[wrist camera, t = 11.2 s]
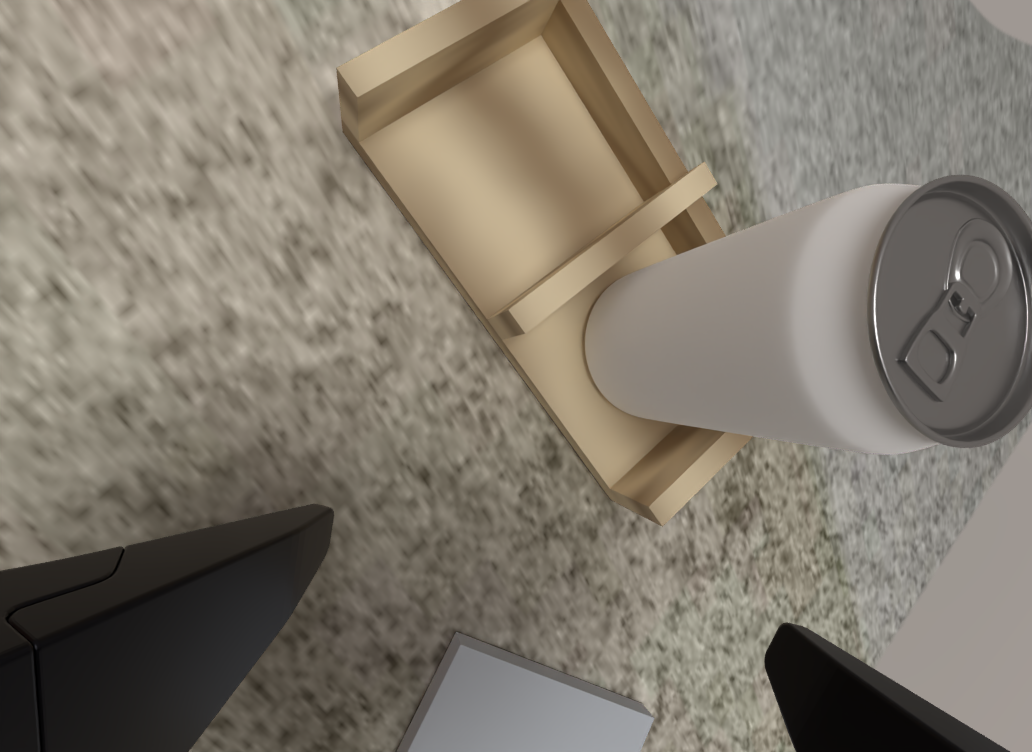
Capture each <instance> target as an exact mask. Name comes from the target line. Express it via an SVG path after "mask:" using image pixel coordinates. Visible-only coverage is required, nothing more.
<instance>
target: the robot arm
mask: <svg viewBox="0 0 1032 752" xmlns="http://www.w3.org/2000/svg"><path fill="white" fill-rule="evenodd" d="M333 519H334V511H333V509H332V508H330V507H326V506H322V505H318V504H310V505H306V506H301V507H297V508H292V509H288V510H284V511H279V512H275V513H270V514H266V515H261V516H257V517H253V518H248V519H244V520H239V521H235V522H230V523H226V524H222V525H217V526H213V527H208V528H204V529H199V530H195V531H190V532H186V533H182V534H177V535H173V536H168V537H164V538H159V539H155V540H151V541H146V542H142V543H137V544H133V545H128V546H126V547H125V549H124V548H123V547H116V548H111V549H107V550H102V551H98V552H93V553H89V554H84V555H79V556H74V557H70V558H65V559H60V560H55V561H51V562H45V563H40V564H35V565H29V566H24V567H18V568H13V569H8V570H2V571H0V752H188V751H189V750H190V749H191V748H192V746H193V745H194V744H195V742H196V741H197V740H198V738H199V737H200V736H201V734H202V733H203V732H204V730H205V729H206V728H207V726H208V725H209V724H210V722H211V721H212V720H213V719H214V717H215V716H216V715H217V713H218V712H219V711H220V709H221V708H222V707H223V705H224V704H225V703H226V701H227V700H228V699H229V697H230V696H231V695H232V693H233V692H234V691H235V689H236V688H237V687H238V686H239V684H240V683H241V682H242V680H243V679H244V678H245V676H246V675H247V674H248V672H249V671H250V670H251V668H252V667H253V666H254V664H255V663H256V662H257V660H258V659H259V658H260V657H261V655H262V654H263V653H264V651H265V650H266V649H267V647H268V646H269V645H270V643H271V642H272V641H273V639H274V638H275V637H276V635H277V634H278V633H279V631H280V630H281V629H282V627H283V626H284V625H285V623H286V622H287V620H288V619H289V617H290V616H291V614H292V613H293V611H294V609H295V608H296V606H297V604H298V603H299V601H300V599H301V597H302V596H303V594H304V592H305V591H306V589H307V587H308V585H309V584H310V582H311V580H312V579H313V577H314V575H315V574H316V572H317V570H318V568H319V567H320V565H321V563H322V562H323V560H324V558H325V556H326V554H327V551H328V548H329V544H330V538H331V532H332V525H333ZM765 669H766V672H767V675H768V678H769V680H770V683H771V686H772V689H773V692H774V694H775V697H776V700H777V703H778V705H779V708H780V711H781V714H782V716H783V719H784V722H785V725H786V728H787V730H788V733H789V736H790V738H791V741H792V743H793V746H794V748H795V750H796V752H1010V751H1008V750H1006V749H1005V748H1003V747H1002V746H1000V745H998V744H996V743H995V742H993V741H992V740H990V739H988V738H987V737H985V736H984V735H982V734H980V733H978V732H977V731H975V730H973V729H972V728H970V727H969V726H967V725H965V724H964V723H962V722H960V721H959V720H957V719H956V718H954V717H952V716H951V715H949V714H947V713H945V712H944V711H942V710H941V709H939V708H937V707H936V706H934V705H933V704H931V703H929V702H928V701H926V700H924V699H923V698H921V697H919V696H918V695H916V694H914V693H913V692H911V691H909V690H908V689H906V688H905V687H903V686H901V685H900V684H898V683H896V682H895V681H893V680H891V679H890V678H888V677H886V676H885V675H883V674H882V673H880V672H878V671H877V670H875V669H873V668H872V667H870V666H868V665H867V664H865V663H863V662H862V661H860V660H859V659H857V658H855V657H854V656H852V655H850V654H849V653H847V652H845V651H844V650H842V649H840V648H839V647H837V646H836V645H834V644H832V643H831V642H829V641H827V640H826V639H824V638H822V637H821V636H819V635H817V634H816V633H814V632H813V631H811V630H809V629H808V628H805V627H803V626H799V625H795V624H791V623H783V624H781V625H780V626H779V628H778V630H777V632H776V634H775V636H774V638H773V640H772V642H771V643H770V645H769V647H768V649H767V651H766V654H765Z"/></svg>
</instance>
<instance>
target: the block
mask: <svg viewBox="0 0 1032 752" xmlns="http://www.w3.org/2000/svg"><path fill="white" fill-rule="evenodd" d="M653 720H654V717H653V716H652V715H651V713H650V712H649V711H648V710H647V709H646V708H645V706H644V705H643V704H642V703H640V702H637V701H634V700H632V699H629V698H627V697H624V696H621V695H619V694H616V693H614V692H611V691H609V690H606V689H603V688H601V687H598V686H596V685H593V684H590V683H588V682H585V681H583V680H580V679H578V678H575V677H572V676H570V675H567V674H565V673H562V672H559V671H557V670H554V669H552V668H549V667H547V666H544V665H541V664H539V663H536V662H534V661H531V660H528V659H526V658H523V657H521V656H518V655H516V654H513V653H510V652H508V651H505V650H503V649H500V648H497V647H495V646H492V645H490V644H487V643H485V642H482V641H479V640H477V639H474V638H472V637H469V636H466V635H464V634H461V633H459V632H456V633H455V635H454V637H453V639H452V641H451V643H450V645H449V647H448V649H447V651H446V653H445V655H444V657H443V659H442V661H441V663H440V665H439V667H438V669H437V671H436V673H435V675H434V677H433V679H432V681H431V683H430V685H429V687H428V689H427V691H426V693H425V695H424V697H423V699H422V701H421V703H420V705H419V707H418V709H417V711H416V713H415V715H414V717H413V719H412V721H411V723H410V725H409V727H408V729H407V731H406V733H405V735H404V737H403V739H402V742H401V744H400V746H399V748H398V750H397V752H640V751H641V748H642V746H643V744H644V741H645V739H646V737H647V734H648V732H649V730H650V727H651V725H652V723H653Z"/></svg>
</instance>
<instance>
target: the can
mask: <svg viewBox="0 0 1032 752" xmlns="http://www.w3.org/2000/svg"><path fill="white" fill-rule="evenodd" d="M585 353H586V360H587V364H588V368H589V371H590V374H591V376H592V378H593V380H594V382H595V384H596V386H597V387H598V389H599V390H600V392H601V393H602V394H603V396H604V397H605V398H606V399H607V400H608V401H609V402H610V403H611V404H613V405H614V406H615V407H617V408H618V409H620V410H622V411H623V412H625V413H628V414H630V415H633V416H636V417H640V418H645V419H651V420H656V421H662V422H668V423H674V424H680V425H686V426H692V427H698V428H705V429H711V430H717V431H723V432H729V433H736V434H742V435H748V436H755V437H761V438H767V439H773V440H780V441H786V442H793V443H799V444H805V445H812V446H819V447H825V448H832V449H839V450H845V451H853V452H861V453H869V454H885V455H893V454H901V453H908V452H912V451H916V450H920V449H924V448H927V447H931V446H934V445H937V444H944V445H947V446H952V447H958V448H973V447H979V446H983V445H986V444H989V443H992V442H994V441H996V440H998V439H1000V438H1001V437H1003V436H1005V435H1006V434H1007V433H1009V432H1010V431H1011V430H1012V429H1014V428H1015V427H1016V426H1017V425H1018V424H1019V423H1020V422H1021V421H1022V419H1023V418H1024V417H1025V416H1026V414H1027V413H1028V412H1029V410H1030V409H1031V407H1032V222H1031V220H1030V219H1029V217H1028V216H1027V214H1026V213H1025V211H1024V210H1023V209H1022V207H1021V206H1020V205H1019V204H1018V203H1017V202H1016V201H1015V200H1014V199H1013V198H1012V197H1011V196H1010V195H1009V194H1008V193H1007V192H1005V191H1004V190H1003V189H1001V188H1000V187H998V186H997V185H995V184H993V183H991V182H989V181H987V180H985V179H982V178H979V177H975V176H969V175H951V176H946V177H942V178H938V179H936V180H933V181H931V182H929V183H927V184H925V185H923V186H917V185H906V184H875V185H869V186H865V187H861V188H857V189H853V190H850V191H847V192H844V193H841V194H838V195H835V196H832V197H830V198H827V199H824V200H821V201H819V202H816V203H813V204H810V205H808V206H805V207H802V208H800V209H797V210H794V211H792V212H789V213H786V214H784V215H781V216H778V217H776V218H773V219H770V220H768V221H765V222H762V223H760V224H757V225H755V226H752V227H749V228H747V229H744V230H741V231H739V232H736V233H734V234H731V235H728V236H726V237H723V238H720V239H718V240H715V241H713V242H710V243H707V244H705V245H702V246H700V247H697V248H694V249H692V250H689V251H687V252H684V253H681V254H679V255H676V256H674V257H671V258H668V259H666V260H663V261H661V262H658V263H656V264H653V265H650V266H648V267H645V268H643V269H640V270H638V271H635V272H633V273H631V274H628V275H626V276H624V277H622V278H620V279H619V280H617V281H615V282H614V283H613V284H611V285H610V286H609V287H608V288H607V289H606V290H605V291H604V292H603V293H602V294H601V296H600V297H599V299H598V300H597V302H596V303H595V305H594V307H593V309H592V311H591V314H590V316H589V319H588V323H587V327H586V334H585Z"/></svg>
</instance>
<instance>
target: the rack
mask: <svg viewBox="0 0 1032 752" xmlns="http://www.w3.org/2000/svg"><path fill="white" fill-rule="evenodd" d="M336 69H337V79H338V89H339V99H340V109H341V119H342V130H343V133H344V134H345V135H346V137H347V138H348V140H349V141H350V142H351V144H352V145H353V146H354V148H355V149H356V151H357V152H358V153H359V155H360V156H361V157H362V159H363V160H364V162H365V163H366V164H367V166H368V167H369V168H370V170H371V171H372V173H373V174H374V175H375V177H376V178H377V179H378V181H379V182H380V184H381V185H382V186H383V188H384V189H385V190H386V192H387V193H388V195H389V196H390V197H391V199H392V200H393V201H394V203H395V204H396V206H397V207H398V208H399V210H400V211H401V212H402V214H403V215H404V216H405V218H406V219H407V221H408V222H409V223H410V225H411V226H412V227H413V229H414V230H415V232H416V233H417V234H418V236H419V237H420V238H421V240H422V241H423V243H424V244H425V245H426V247H427V248H428V249H429V251H430V252H431V254H432V255H433V256H434V258H435V259H436V260H437V262H438V263H439V265H440V266H441V267H442V269H443V270H444V271H445V273H446V274H447V276H448V277H449V278H450V280H451V281H452V282H453V284H454V285H455V287H456V288H457V289H458V291H459V292H460V293H461V295H462V296H463V298H464V299H465V300H466V302H467V303H468V304H469V306H470V307H471V308H472V310H473V311H474V313H475V314H476V315H477V317H478V318H479V319H480V321H481V322H482V324H483V325H484V326H485V328H486V329H487V330H488V332H489V333H490V335H491V336H492V337H493V339H494V340H495V341H496V343H497V344H498V346H499V347H500V348H501V350H502V351H503V352H504V354H505V355H506V357H507V358H508V359H509V361H510V362H511V363H512V365H513V366H514V368H515V369H516V370H517V372H518V373H519V374H520V376H521V377H522V379H523V380H524V381H525V383H526V384H527V385H528V387H529V388H530V390H531V391H532V392H533V394H534V395H535V396H536V398H537V399H538V401H539V402H540V403H541V405H542V406H543V407H544V409H545V410H546V411H547V413H548V414H549V416H550V417H551V418H552V420H553V421H554V422H555V424H556V425H557V427H558V428H559V429H560V431H561V432H562V433H563V435H564V436H565V438H566V439H567V440H568V442H569V443H570V444H571V446H572V447H573V449H574V450H575V451H576V453H577V454H578V455H579V457H580V458H581V460H582V461H583V462H584V464H585V465H586V466H587V468H588V469H589V471H590V472H591V473H592V475H593V476H594V477H595V479H596V480H597V482H598V483H599V484H600V486H601V487H602V488H603V490H604V491H605V493H606V494H607V495H608V497H609V498H610V499H611V500H612V501H614V502H616V503H618V504H620V505H622V506H624V507H625V508H627V509H629V510H631V511H633V512H635V513H637V514H639V515H641V516H643V517H645V518H647V519H649V520H651V521H653V522H655V523H657V524H659V525H660V526H662V527H663V526H664V525H665V524H666V523H667V522H668V521H669V520H670V519H671V518H672V517H673V516H674V515H675V514H676V513H677V512H678V511H679V510H680V509H681V508H682V507H683V506H684V505H685V504H686V503H687V502H688V501H689V500H690V499H691V498H692V497H693V496H694V495H695V494H696V493H697V492H698V491H699V490H700V489H701V488H702V487H703V486H704V485H705V484H706V483H707V482H708V481H709V480H710V479H711V478H712V477H713V476H714V475H715V474H716V473H717V472H718V471H719V470H720V469H721V468H722V467H723V466H724V465H725V464H726V463H727V462H728V461H729V460H730V459H731V458H732V457H733V456H734V455H735V454H736V453H737V452H738V451H739V450H740V449H741V448H742V447H743V446H744V445H745V444H746V443H747V442H748V441H749V440H750V439H751V438H752V437H753V436H748V435H742V434H736V433H729V432H723V431H717V430H711V429H705V428H698V427H692V426H686V425H680V424H674V423H668V422H662V421H656V420H651V419H645V418H640V417H636V416H633V415H630V414H628V413H625V412H623V411H622V410H620V409H618V408H617V407H615V406H614V405H613V404H611V403H610V402H609V401H608V400H607V399H606V398H605V397H604V396H603V394H602V393H601V392H600V390H599V389H598V387H597V386H596V384H595V382H594V380H593V378H592V376H591V374H590V371H589V368H588V364H587V360H586V353H585V334H586V327H587V323H588V319H589V316H590V314H591V311H592V309H593V307H594V305H595V303H596V302H597V300H598V299H599V297H600V296H601V294H602V293H603V292H604V291H605V290H606V289H607V288H608V287H609V286H610V285H611V284H613V283H614V282H615V281H617V280H619V279H620V278H622V277H624V276H626V275H628V274H631V273H633V272H635V271H638V270H640V269H643V268H645V267H648V266H650V265H653V264H656V263H658V262H661V261H663V260H666V259H668V258H671V257H674V256H676V255H679V254H681V253H684V252H687V251H689V250H692V249H694V248H697V247H700V246H702V245H705V244H707V243H710V242H713V241H715V240H718V239H720V238H723V237H726V236H725V234H724V232H723V231H722V229H721V227H720V226H719V224H718V222H717V221H716V219H715V217H714V215H713V214H712V212H711V210H710V209H709V207H708V205H707V204H706V202H705V200H704V198H703V197H702V196H703V195H704V194H705V193H706V192H708V191H709V190H710V189H712V188H713V187H714V186H715V185H717V182H716V181H715V179H714V177H713V176H712V174H711V172H710V170H709V169H708V167H707V165H706V163H705V162H703V163H702V164H700V165H698V166H697V167H695V168H694V169H692V170H690V171H689V172H688V171H687V170H686V168H685V166H684V164H683V163H682V161H681V159H680V158H679V156H678V154H677V153H676V151H675V149H674V148H673V146H672V144H671V142H670V141H669V139H668V137H667V136H666V134H665V132H664V131H663V129H662V127H661V125H660V124H659V122H658V120H657V119H656V117H655V115H654V114H653V112H652V110H651V108H650V107H649V105H648V103H647V102H646V100H645V98H644V97H643V95H642V93H641V92H640V90H639V88H638V86H637V85H636V83H635V81H634V80H633V78H632V76H631V75H630V73H629V71H628V69H627V68H626V66H625V64H624V63H623V61H622V59H621V58H620V56H619V54H618V52H617V51H616V49H615V47H614V46H613V44H612V42H611V41H610V39H609V37H608V36H607V34H606V32H605V30H604V29H603V27H602V25H601V24H600V22H599V20H598V19H597V17H596V15H595V13H594V12H593V10H592V8H591V7H590V5H589V3H588V2H587V0H461V1H460V2H458V3H456V4H454V5H452V6H450V7H448V8H447V9H445V10H443V11H441V12H439V13H437V14H435V15H434V16H432V17H430V18H428V19H426V20H424V21H422V22H421V23H419V24H417V25H415V26H413V27H411V28H410V29H408V30H406V31H404V32H402V33H400V34H398V35H397V36H395V37H393V38H391V39H389V40H387V41H385V42H384V43H382V44H380V45H378V46H376V47H374V48H372V49H371V50H369V51H367V52H365V53H363V54H361V55H359V56H358V57H356V58H354V59H352V60H350V61H348V62H346V63H345V64H343V65H341V66H339V67H337V68H336Z"/></svg>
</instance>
